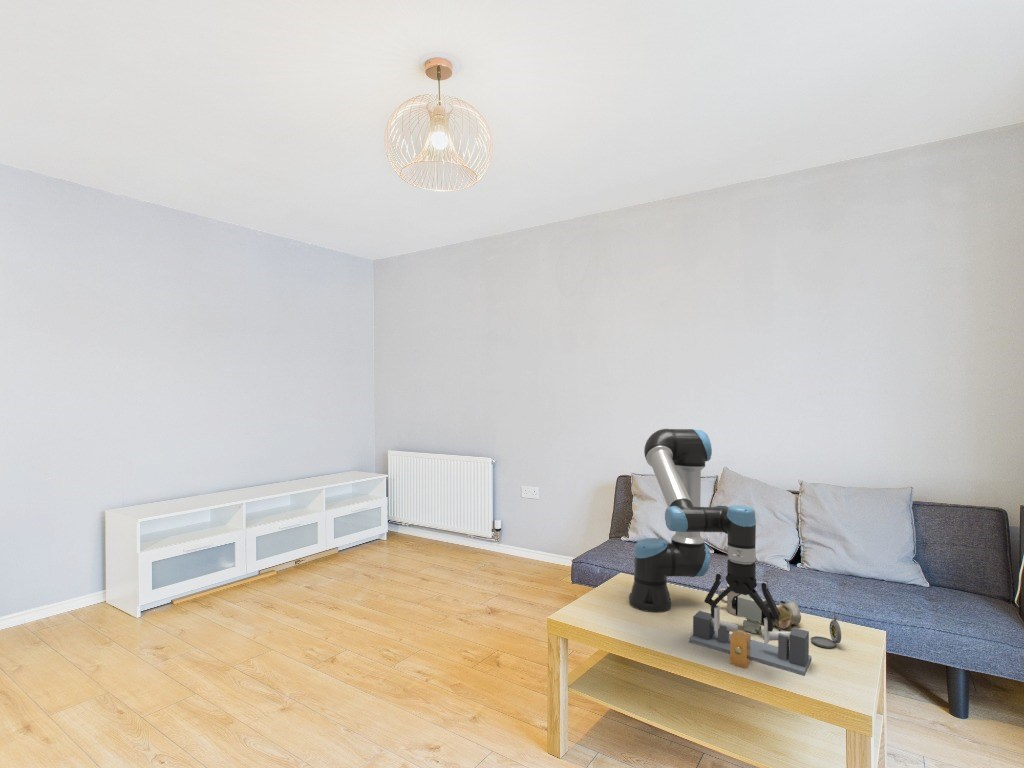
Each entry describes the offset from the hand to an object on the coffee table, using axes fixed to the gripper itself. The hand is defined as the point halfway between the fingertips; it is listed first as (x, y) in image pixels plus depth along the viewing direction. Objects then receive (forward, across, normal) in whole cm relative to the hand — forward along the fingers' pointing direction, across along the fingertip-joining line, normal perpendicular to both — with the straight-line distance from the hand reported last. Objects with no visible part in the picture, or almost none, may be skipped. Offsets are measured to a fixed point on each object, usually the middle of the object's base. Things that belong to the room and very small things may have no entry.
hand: (741, 635), depth 154 cm
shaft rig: (+8, 0, +10) cm, 13 cm away
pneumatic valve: (+8, -3, +26) cm, 27 cm away
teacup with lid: (+8, -12, +40) cm, 42 cm away
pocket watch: (+8, +18, +31) cm, 36 cm away
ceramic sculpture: (+8, +4, +37) cm, 38 cm away
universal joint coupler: (+8, 0, 0) cm, 8 cm away
